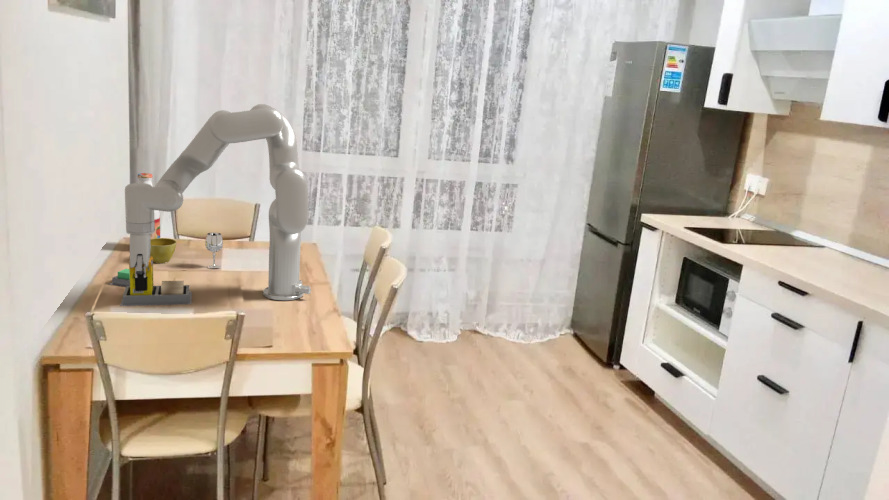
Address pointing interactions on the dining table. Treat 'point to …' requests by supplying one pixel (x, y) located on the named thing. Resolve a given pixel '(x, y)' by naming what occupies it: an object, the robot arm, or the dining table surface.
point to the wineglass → (214, 245)
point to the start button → (124, 274)
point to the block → (172, 287)
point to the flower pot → (162, 249)
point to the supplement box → (149, 279)
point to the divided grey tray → (156, 298)
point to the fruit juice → (147, 179)
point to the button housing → (120, 282)
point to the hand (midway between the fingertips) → (142, 286)
